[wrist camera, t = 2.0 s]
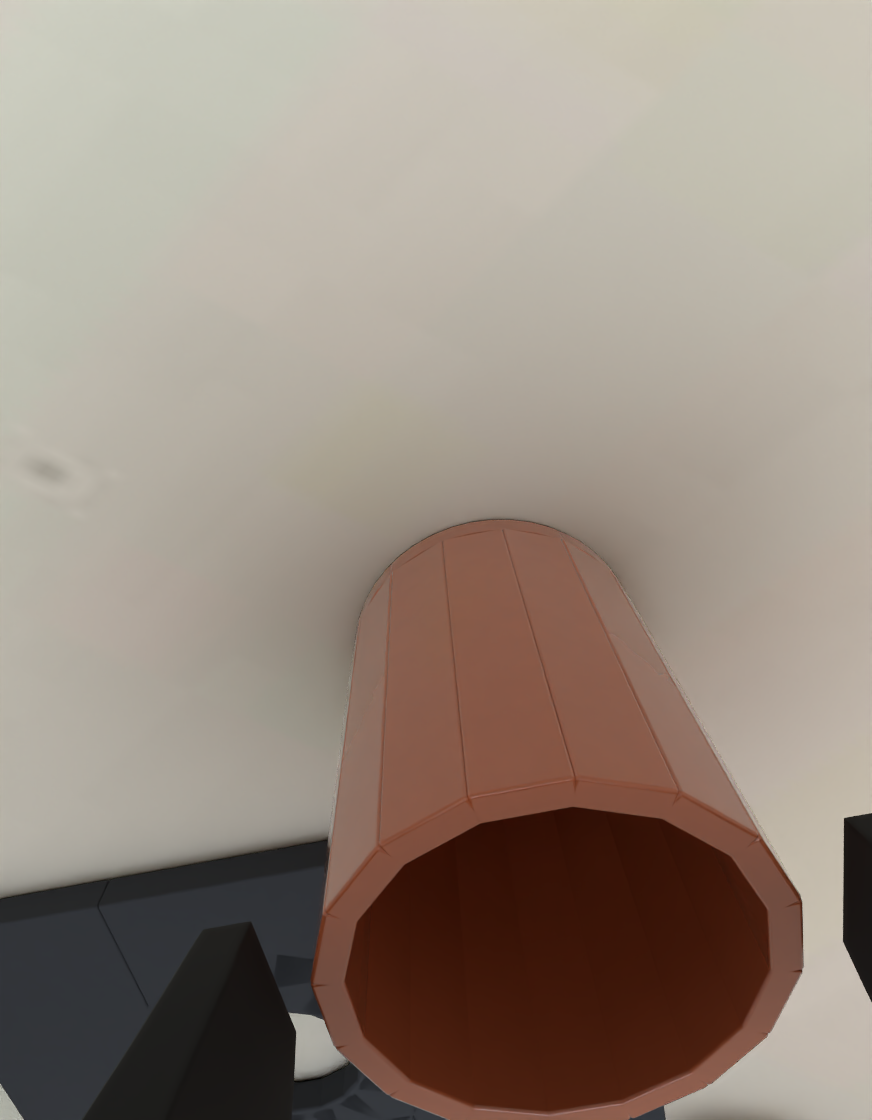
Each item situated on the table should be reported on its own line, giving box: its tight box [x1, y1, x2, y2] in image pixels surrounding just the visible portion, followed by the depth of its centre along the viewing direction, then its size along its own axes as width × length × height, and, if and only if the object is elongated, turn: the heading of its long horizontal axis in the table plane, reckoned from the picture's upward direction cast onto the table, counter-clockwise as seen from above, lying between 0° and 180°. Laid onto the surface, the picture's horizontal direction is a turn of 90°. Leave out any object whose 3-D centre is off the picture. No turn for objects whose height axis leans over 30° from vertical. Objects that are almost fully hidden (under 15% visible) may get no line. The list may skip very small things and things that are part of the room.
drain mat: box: [0, 840, 666, 1120], centre depth 20 cm, size 16×11×1 cm
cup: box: [310, 520, 804, 1120], centre depth 13 cm, size 6×6×8 cm
